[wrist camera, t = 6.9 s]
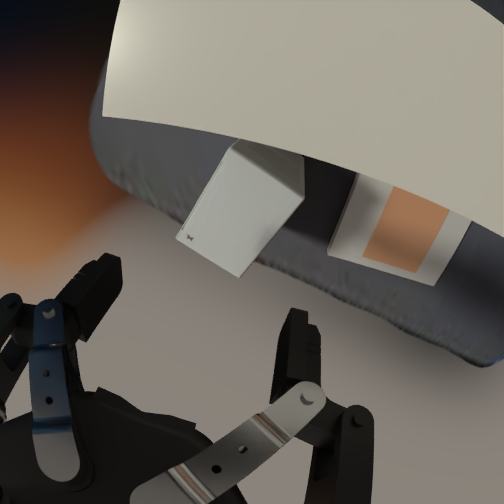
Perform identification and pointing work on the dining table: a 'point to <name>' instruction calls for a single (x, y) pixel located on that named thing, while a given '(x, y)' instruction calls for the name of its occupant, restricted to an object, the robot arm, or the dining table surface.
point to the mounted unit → (329, 86)
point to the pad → (396, 231)
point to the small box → (245, 204)
